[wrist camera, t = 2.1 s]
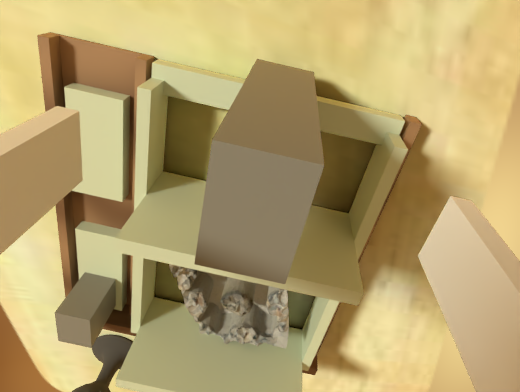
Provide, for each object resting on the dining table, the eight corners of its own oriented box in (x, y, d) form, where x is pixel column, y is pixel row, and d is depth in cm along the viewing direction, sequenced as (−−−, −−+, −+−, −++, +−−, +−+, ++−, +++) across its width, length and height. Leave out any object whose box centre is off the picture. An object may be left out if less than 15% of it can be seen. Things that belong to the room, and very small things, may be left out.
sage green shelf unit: (159, 32, 20) (5, 92, 10) (411, 90, 20) (524, 211, 10) (145, 302, 31) (66, 466, 20) (307, 338, 31) (309, 517, 21)
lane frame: (49, 32, 21) (21, 38, 19) (416, 117, 21) (429, 132, 19) (73, 296, 32) (57, 319, 30) (313, 349, 32) (314, 375, 30)
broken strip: (73, 82, 22) (17, 108, 18) (130, 95, 22) (88, 124, 18) (86, 292, 31) (52, 343, 27) (126, 301, 31) (98, 353, 27)
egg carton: (177, 202, 26) (157, 238, 22) (286, 201, 25) (283, 238, 21) (201, 312, 31) (187, 355, 27) (291, 314, 30) (289, 359, 26)
